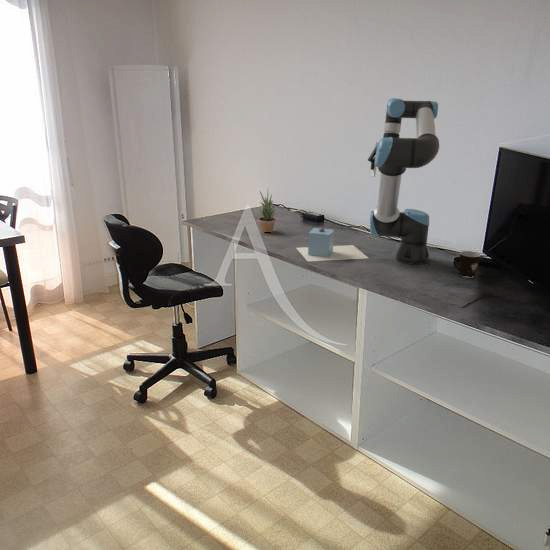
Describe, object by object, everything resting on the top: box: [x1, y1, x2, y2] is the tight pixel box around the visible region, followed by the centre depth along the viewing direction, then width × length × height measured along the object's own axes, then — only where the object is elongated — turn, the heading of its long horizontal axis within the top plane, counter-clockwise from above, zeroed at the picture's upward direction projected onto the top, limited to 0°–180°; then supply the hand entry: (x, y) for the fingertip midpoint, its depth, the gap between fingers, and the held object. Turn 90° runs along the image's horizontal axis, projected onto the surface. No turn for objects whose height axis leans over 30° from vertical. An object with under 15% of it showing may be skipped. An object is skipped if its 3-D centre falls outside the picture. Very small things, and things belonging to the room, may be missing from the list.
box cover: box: [307, 227, 335, 257], centre depth 250 cm, size 10×10×12 cm
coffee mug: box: [453, 250, 482, 277], centre depth 224 cm, size 12×9×10 cm
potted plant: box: [257, 189, 276, 233], centre depth 285 cm, size 10×10×25 cm
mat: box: [295, 244, 369, 262], centre depth 253 cm, size 22×30×1 cm
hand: (385, 178), depth 252 cm, fingers open, 13 cm apart
